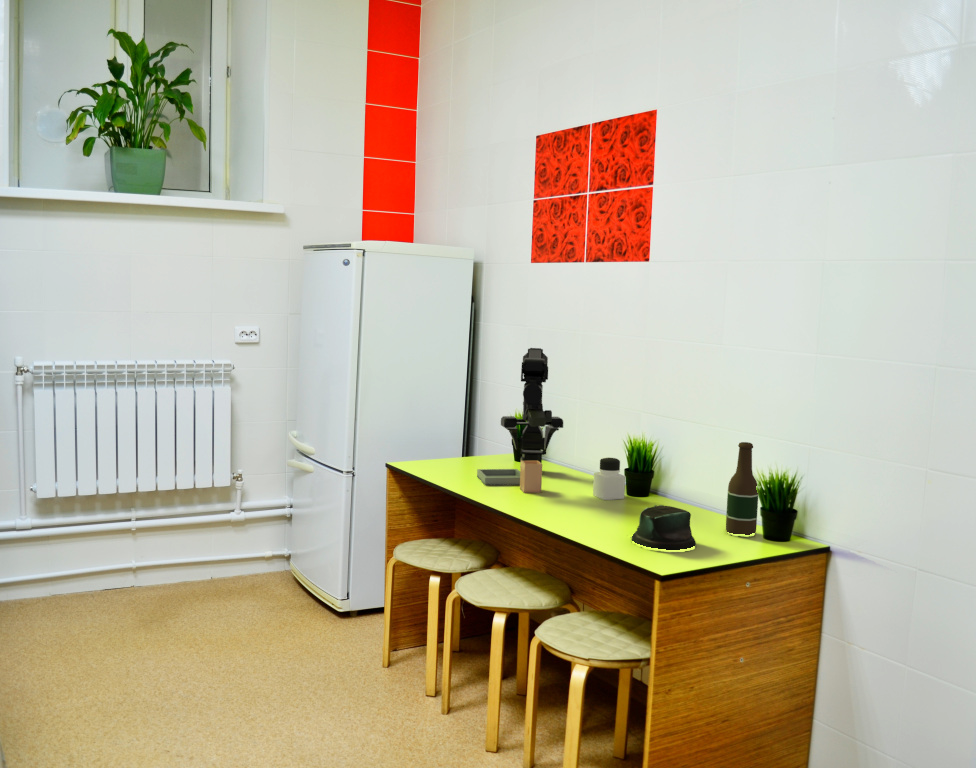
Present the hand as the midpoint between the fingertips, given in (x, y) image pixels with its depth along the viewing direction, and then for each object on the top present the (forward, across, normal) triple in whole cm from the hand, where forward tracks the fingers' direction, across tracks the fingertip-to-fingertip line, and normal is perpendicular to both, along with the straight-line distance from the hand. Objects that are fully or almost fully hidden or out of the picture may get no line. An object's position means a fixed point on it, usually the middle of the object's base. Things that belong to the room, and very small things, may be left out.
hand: (531, 449), depth 263 cm
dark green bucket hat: (+14, +19, -59) cm, 64 cm away
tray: (+13, -6, +15) cm, 21 cm away
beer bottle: (+13, +44, -53) cm, 70 cm away
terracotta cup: (+13, 0, 0) cm, 13 cm away
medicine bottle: (+13, +22, -10) cm, 28 cm away
